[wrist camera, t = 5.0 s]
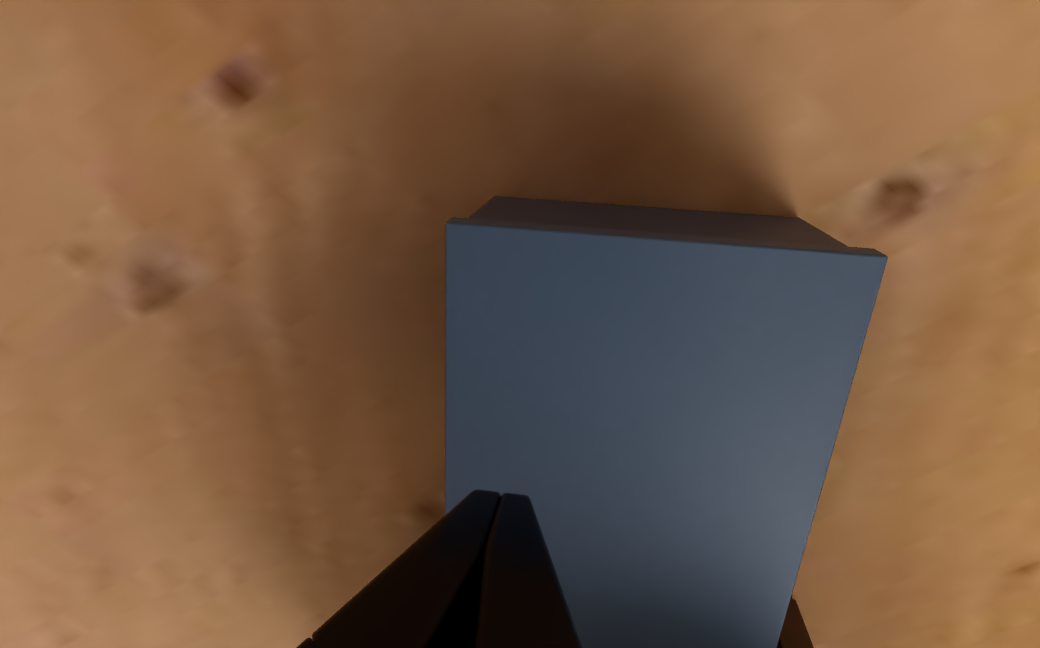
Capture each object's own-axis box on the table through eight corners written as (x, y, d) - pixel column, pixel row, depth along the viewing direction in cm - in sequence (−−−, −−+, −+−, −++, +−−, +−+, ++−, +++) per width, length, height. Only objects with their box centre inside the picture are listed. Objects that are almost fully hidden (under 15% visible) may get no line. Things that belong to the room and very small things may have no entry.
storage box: (808, 211, 15) (889, 256, 11) (723, 582, 19) (756, 718, 15) (488, 189, 16) (444, 221, 11) (478, 548, 20) (444, 667, 16)
